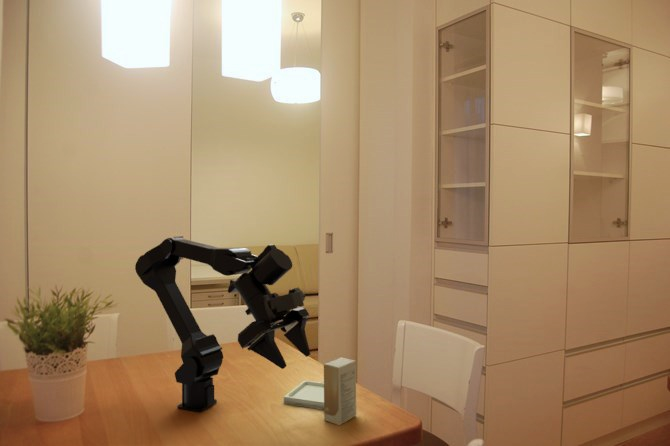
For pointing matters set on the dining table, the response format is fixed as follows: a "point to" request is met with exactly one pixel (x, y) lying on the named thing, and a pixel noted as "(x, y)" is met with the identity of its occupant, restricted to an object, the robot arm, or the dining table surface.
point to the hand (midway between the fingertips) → (297, 361)
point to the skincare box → (339, 390)
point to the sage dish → (307, 395)
